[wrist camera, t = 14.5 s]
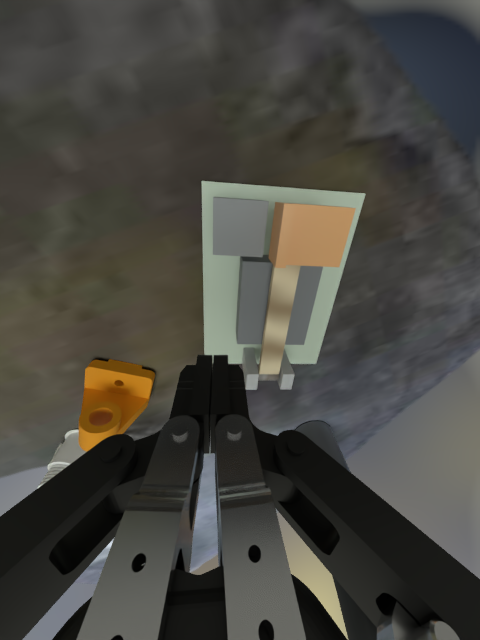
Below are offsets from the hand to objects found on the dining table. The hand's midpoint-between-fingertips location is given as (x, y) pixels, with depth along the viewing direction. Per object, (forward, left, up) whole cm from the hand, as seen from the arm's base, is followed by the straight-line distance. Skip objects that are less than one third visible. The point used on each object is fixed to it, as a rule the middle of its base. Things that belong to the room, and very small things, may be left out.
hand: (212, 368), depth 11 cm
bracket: (-23, +17, -24) cm, 38 cm away
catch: (+5, -9, -16) cm, 19 cm away
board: (-5, -8, -24) cm, 26 cm away
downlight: (-41, +29, -24) cm, 56 cm away
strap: (-5, -8, -17) cm, 20 cm away
